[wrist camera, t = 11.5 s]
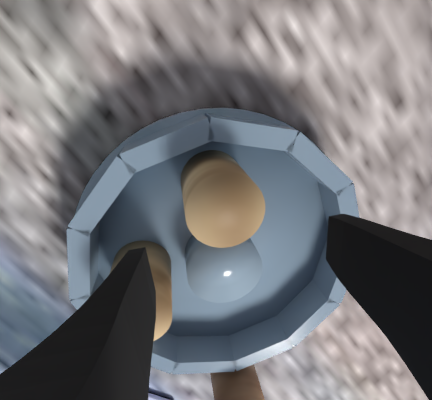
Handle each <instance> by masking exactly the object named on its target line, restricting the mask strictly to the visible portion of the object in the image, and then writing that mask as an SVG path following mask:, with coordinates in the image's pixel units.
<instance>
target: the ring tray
mask: <svg viewBox="0 0 432 400" xmlns="http://www.w3.org/2000/svg"><path fill="white" fill-rule="evenodd" d="M206 150H218V151H222V152H224V153H227V154H228V155H230V156H231V157H232V158H233V159H234V160H235V161H236V162H237V163H238V164H239V166H240V167H241V168H242V169H243V170H244V171H245V172H246V174H247V175H248V176H249V177H250V178H251V179H252V180H253V182H254V183H255V184H256V185H257V186H258V187H259V189H260V190H261V192H262V194H263V197H264V200H265V215H264V219H263V221H262V223H261V225H260V227H259V229H258V230H257V231H256V232H255V233H254V235H253V236H251V237H250V238H249V239H248V240H246V241H244V242H243V243H241V244H238V245H236V246H232V247H227V248H217V247H211V246H208V245H206V244H204V243H202V242H200V241H199V240H197V239H196V238H195V237H194V236H193V235H192V233H191V232H190V230H189V228H188V226H187V223H186V218H185V211H184V204H183V197H182V189H181V173H182V170H183V168H184V166H185V164H186V163H187V162H188V160H189V159H190V158H192V157H193V156H194V155H196V154H198V153H200V152H202V151H206ZM352 182H353V181H352V180H350V179H349V178H348V177H347V176H346V175H345V174H344V173H343V172H342V171H341V170H340V169H339V168H338V167H337V166H336V165H335V164H334V163H333V162H332V161H331V160H330V159H328V158H327V157H326V156H325V155H324V154H323V152H322V151H321V150H320V149H319V148H318V147H317V146H316V145H315V143H313V142H312V141H311V140H310V139H309V138H307V137H306V136H305V135H304V134H302V133H301V132H300V131H298V130H296V129H295V128H293V127H291V126H290V125H288V124H286V123H284V122H282V121H279V120H277V119H274V118H272V117H269V116H267V115H264V114H261V113H257V112H253V111H248V110H244V109H236V108H226V107H216V108H200V109H194V110H189V111H184V112H180V113H177V114H174V115H171V116H168V117H165V118H162V119H159V120H157V121H155V122H153V123H151V124H149V125H147V126H145V127H143V128H141V129H140V130H138V131H137V132H136V133H134V134H133V135H131V136H130V137H128V138H127V139H125V140H124V141H123V142H122V143H121V144H120V145H119V146H118V147H116V148H115V149H114V150H113V151H112V152H111V153H110V154H109V155H108V156H107V158H106V159H105V160H104V161H103V163H102V164H101V165H100V166H99V167H98V169H97V170H96V171H95V172H94V174H93V175H92V177H91V179H90V180H89V182H88V184H87V185H86V187H85V189H84V191H83V193H82V196H81V198H80V201H79V203H78V206H77V208H76V212H75V216H74V217H73V219H72V220H71V222H70V223H69V225H68V228H67V254H68V282H69V299H71V300H70V302H71V303H72V305H73V306H74V307H75V308H76V309H77V310H78V309H79V308H80V307H81V306H82V305H83V304H84V303H85V302H86V300H87V299H88V298H89V297H90V296H91V295H92V294H93V293H94V292H95V291H96V290H97V288H98V287H99V286H100V285H101V284H102V283H103V281H104V280H105V279H106V278H107V277H108V275H109V274H110V271H111V267H112V264H113V261H114V258H115V255H116V254H117V252H118V251H119V250H120V249H121V248H122V247H123V246H125V245H126V244H128V243H131V242H134V241H143V240H144V241H151V242H154V243H157V244H159V245H160V246H162V247H163V248H164V249H165V250H166V251H167V252H168V254H169V256H170V259H171V276H172V322H171V325H170V327H169V329H168V330H167V332H166V333H165V334H164V335H163V336H161V337H160V338H159V339H157V340H155V341H153V349H152V358H151V367H153V368H156V369H158V370H161V371H164V372H166V373H169V374H171V373H172V374H192V373H217V372H235V369H236V371H239V370H241V369H243V368H246V367H248V366H251V365H253V364H255V363H258V362H260V361H263V360H265V359H268V358H270V357H272V356H275V355H277V354H280V353H282V352H284V351H287V350H289V349H292V348H294V347H293V345H294V346H297V345H298V344H299V343H300V342H301V341H302V340H303V339H304V338H305V337H306V336H307V335H308V334H309V333H310V332H311V331H312V330H314V329H315V328H316V327H317V326H318V325H319V324H320V323H321V322H322V321H323V320H324V319H325V318H326V317H327V316H328V315H330V314H331V313H332V312H333V311H334V310H335V309H336V308H337V307H338V306H339V303H341V302H342V300H343V297H344V295H345V292H346V290H347V289H346V288H345V287H344V286H343V284H342V283H341V282H340V281H339V279H338V278H337V276H336V275H335V273H334V272H333V270H332V269H331V267H330V265H329V264H328V262H327V260H326V247H327V233H328V219H329V216H333V215H338V214H347V215H351V216H355V217H358V218H359V212H358V206H357V200H356V194H355V188H354V184H353V183H352Z"/></svg>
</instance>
